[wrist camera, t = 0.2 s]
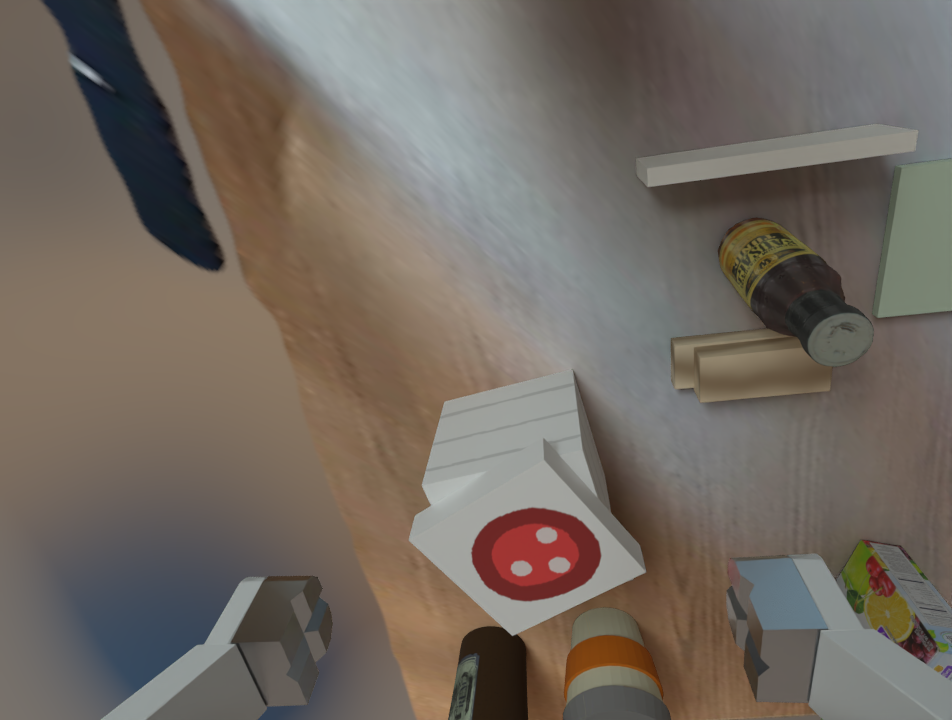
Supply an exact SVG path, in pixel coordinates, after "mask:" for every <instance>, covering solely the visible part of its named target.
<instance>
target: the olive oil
mask: <svg viewBox="0 0 952 720" xmlns="http://www.w3.org/2000/svg"><path fill="white" fill-rule="evenodd" d="M448 720H528V707H527V671H526V648H525V645H524V643H523V641H522V640H521V639H520V638H519V637H518V636H517V635H513V636H512V635H511V634H510V633H509V632H508V631H506V630H505V629H503V628H499V627H482V628H478V629H475V630H473V631H471V632H470V633H468V634H467V635H466V636H465V637H464V639H463V641H462V644H461V649H460V655H459V662H458V667H457V673H456V679H455V685H454V691H453V696H452V702H451V707H450V713H449V718H448Z"/></svg>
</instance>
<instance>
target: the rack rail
mask: <svg viewBox="0 0 952 720" xmlns="http://www.w3.org/2000/svg"><path fill="white" fill-rule="evenodd" d="M917 136H918V130H913V129H907V128H900V127H894V126H888V125H881V124H872V125H865V126H858V127H851V128H844V129H837V130H830V131H823V132H816V133H809V134H802V135H795V136H788V137H781V138H774V139H767V140H760V141H753V142H746V143H739V144H732V145H725V146H718V147H711V148H704V149H697V150H690V151H683V152H676V153H669V154H662V155H655V156H648V157H641V158H636V176H637V177H638V178H639V179H640V180H641V181H642V182H643V183H644V184H645V185H646V186H647V187H653V186H661V185H668V184H675V183H683V182H690V181H697V180H705V179H712V178H720V177H727V176H734V175H742V174H749V173H757V172H764V171H771V170H779V169H786V168H794V167H801V166H808V165H816V164H823V163H831V162H838V161H845V160H853V159H860V158H868V157H875V156H882V155H890V154H897V153H904V152H912V151H915V148H916V142H917Z"/></svg>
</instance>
